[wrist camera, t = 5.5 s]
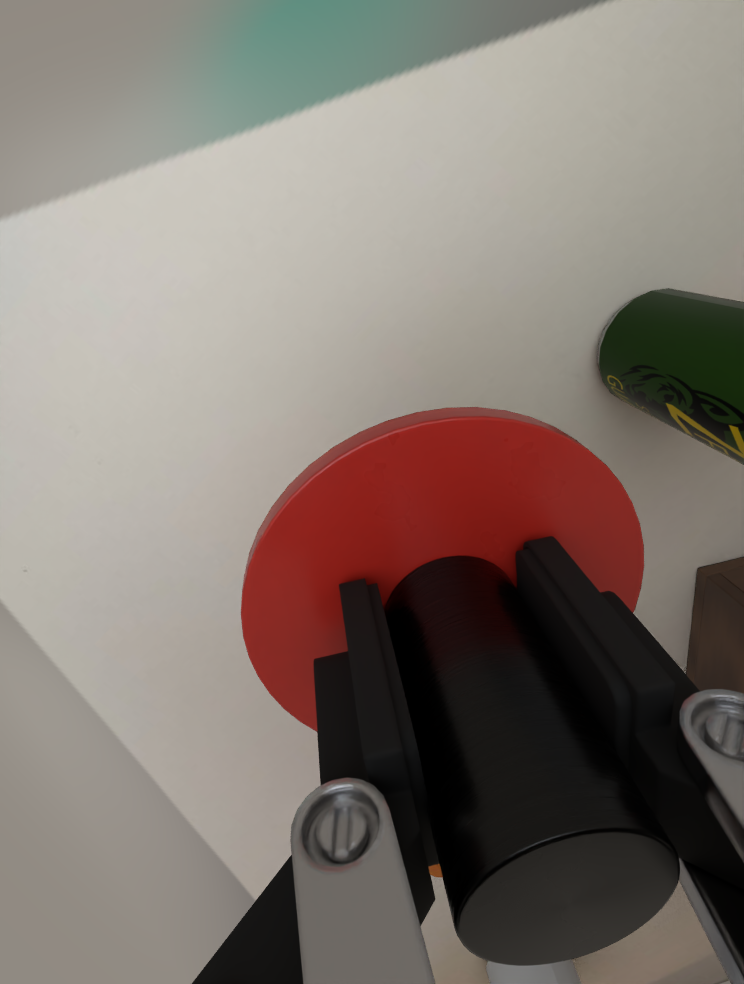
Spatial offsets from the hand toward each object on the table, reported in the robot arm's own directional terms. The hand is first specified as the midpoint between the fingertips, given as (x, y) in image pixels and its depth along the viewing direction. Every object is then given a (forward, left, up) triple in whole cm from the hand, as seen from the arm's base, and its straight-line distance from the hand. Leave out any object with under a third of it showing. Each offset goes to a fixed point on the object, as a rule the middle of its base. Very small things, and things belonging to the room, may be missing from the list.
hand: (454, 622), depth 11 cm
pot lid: (0, 0, -1) cm, 1 cm away
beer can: (-12, +8, -17) cm, 22 cm away
